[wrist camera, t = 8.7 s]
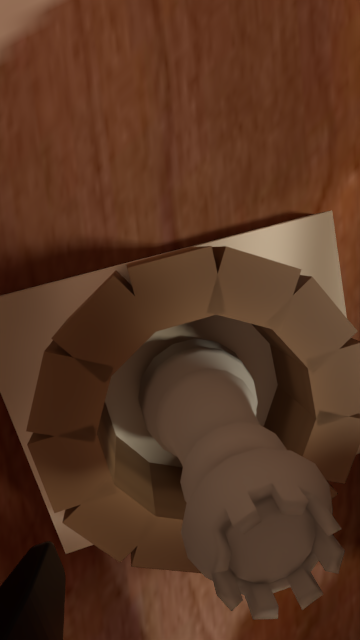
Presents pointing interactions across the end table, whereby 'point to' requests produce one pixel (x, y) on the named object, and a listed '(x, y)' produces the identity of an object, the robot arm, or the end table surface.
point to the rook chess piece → (238, 481)
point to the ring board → (150, 340)
